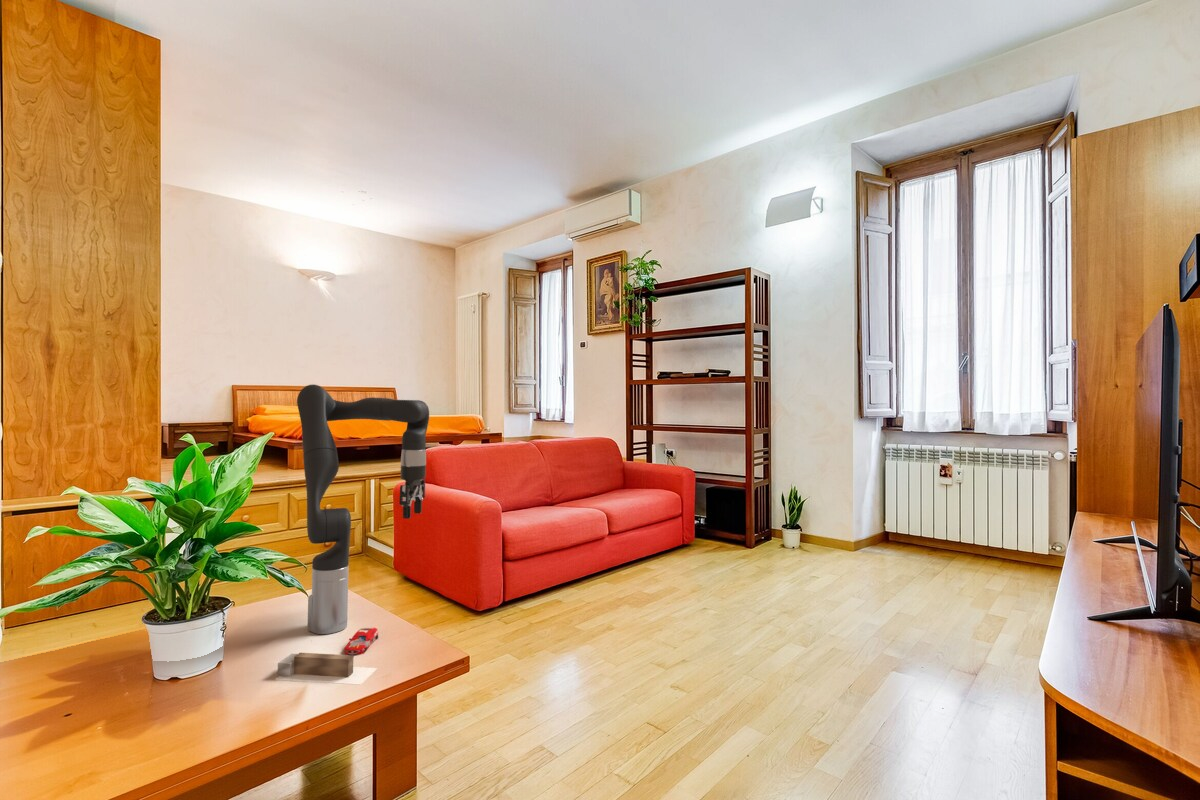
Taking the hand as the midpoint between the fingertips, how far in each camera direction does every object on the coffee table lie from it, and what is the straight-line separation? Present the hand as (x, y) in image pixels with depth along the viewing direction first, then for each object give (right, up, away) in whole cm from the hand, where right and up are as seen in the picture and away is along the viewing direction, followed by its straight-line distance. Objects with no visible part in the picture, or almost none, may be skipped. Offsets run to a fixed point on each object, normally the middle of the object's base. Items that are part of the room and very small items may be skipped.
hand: (412, 515), depth 180 cm
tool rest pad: (-4, -28, -47) cm, 55 cm away
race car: (-3, -28, -31) cm, 42 cm away
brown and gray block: (-6, -27, -47) cm, 55 cm away
